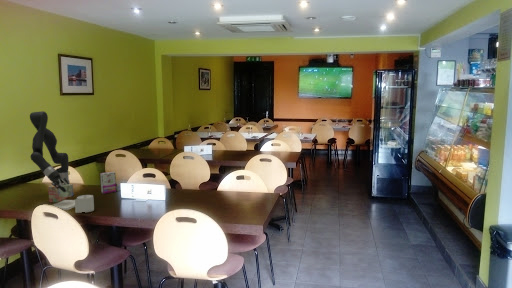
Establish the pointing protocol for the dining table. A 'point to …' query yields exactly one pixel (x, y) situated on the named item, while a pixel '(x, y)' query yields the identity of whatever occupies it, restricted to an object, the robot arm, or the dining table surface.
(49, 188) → the colorful patterned box
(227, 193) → the dining table surface
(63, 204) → the cutting board
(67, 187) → the sage block
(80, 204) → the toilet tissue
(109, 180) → the candy bar box
